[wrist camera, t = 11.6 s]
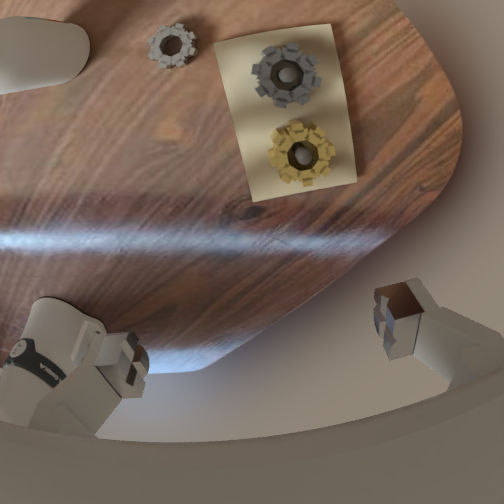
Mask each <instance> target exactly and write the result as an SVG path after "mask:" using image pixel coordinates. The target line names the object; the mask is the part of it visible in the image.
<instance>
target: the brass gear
mask: <svg viewBox="0 0 504 504" xmlns="http://www.w3.org/2000/svg"><path fill="white" fill-rule="evenodd" d="M288 124H289V126H287V127H285V128H286V130H284V129H282V130H281V131H279V130H277V129H275V130H274V132H273V133H272V134H271V136H270V137H271V140H272V142H273V144H274V145H272V146H273V149H270V150H268V154H269V159H270V163H271V167H274V166H277V167H278V173H279V177H280V179H281V180H282V181H284V182H286V183H287V184H289V183H290V182H291V180H293V181H295V182H296V180H298V182H301V183H302V185H303V187H307V186H312V185H313V181H312V180H314V179H316V176H318V177H320V175H321V174H322V175H323V176H325V177H327V175H328V174H329V173H330V171H331V170H332V169H331V168H330V167H329V166H328V165H329V162H328V161H327V160H330V156H334V155H336V154H335V147H334V145H333V144H332V143H331V142H330V141H328V140H327V139H325V138H323V136H324V135H325V134H326V132H325V131H323V130H322V129H321V128H319V127H318V126H316V125H315V124H314V123H312V122H311V123H310V125H309V126H307V125H303V124H302V122H300V121H299V120H298V119H294V120H288ZM304 140H308V141H309V142H311V143H312V149H313V152H312V154H311V155H312V160H311V162H310V163H309V164H307V165H303V164H300V163H299V162H297V163H294V162H293V161H291V160H290V159H288V157H287V151H288V150H289V149H290V147H291V146H292V144H293V143H294V142H298V141H304Z"/></svg>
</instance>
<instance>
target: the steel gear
mask: <svg viewBox="0 0 504 504" xmlns="http://www.w3.org/2000/svg"><path fill="white" fill-rule="evenodd" d="M298 46H299V45H298V44H293V43H289V42H288V43H287V44H286V45H285V46H284V47H282V48H281V49H279V48H278V49H276V50H275V49H274V48H273V47H272V45H270V46H269V47H267V48H265V49H264V50H262V52H261V54H262V56H263V58H262V59H261V61H260V62H259V65H258V64H253V66H252V71H251V75H257V77H256V79H258V80H259V81H258V82H257V83H258V84H259V86H257V87H256V88H254V89H255V90H256V92H257V93H258V94H259V96H260V97H261V98H262V97H263V96H265V95H267V96H268V97H270V98H271V99H272V100H273V105H274V106H276V107H281V108H286V106H287V103H292V102H294V103H295V102H297V103H298V104H300V105H302V106H303V105H304V104H306V103H307V102H309V101H311V100H310V98H309V97H308V94H310V93H311V92H310V91H309V90H313V88H314V87H318V88H320V85H321V81H322V78H321V77H317V76H316V74H317V72H313V71H314V70H315V69H316V68H315V67H314V65H316V64H317V63H319V62H318V60H317V59H316V58H315V56H314V55H313V54H311V55H308V56H307V55H306V54H303V55H301V54H302V51H298ZM279 61H284V62H289V63H292V64H293V65H294V66H295V68H296V69H297V71H298V72H299V76H298V81H297V84H296V85H295V86H293V87H292V88H290V89H288V90H282V89H277V88H276V86H275V85H274V84H273V82H272V81H271V80H270V73H271V68H272V65H274V64H275V63H277V62H279Z"/></svg>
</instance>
